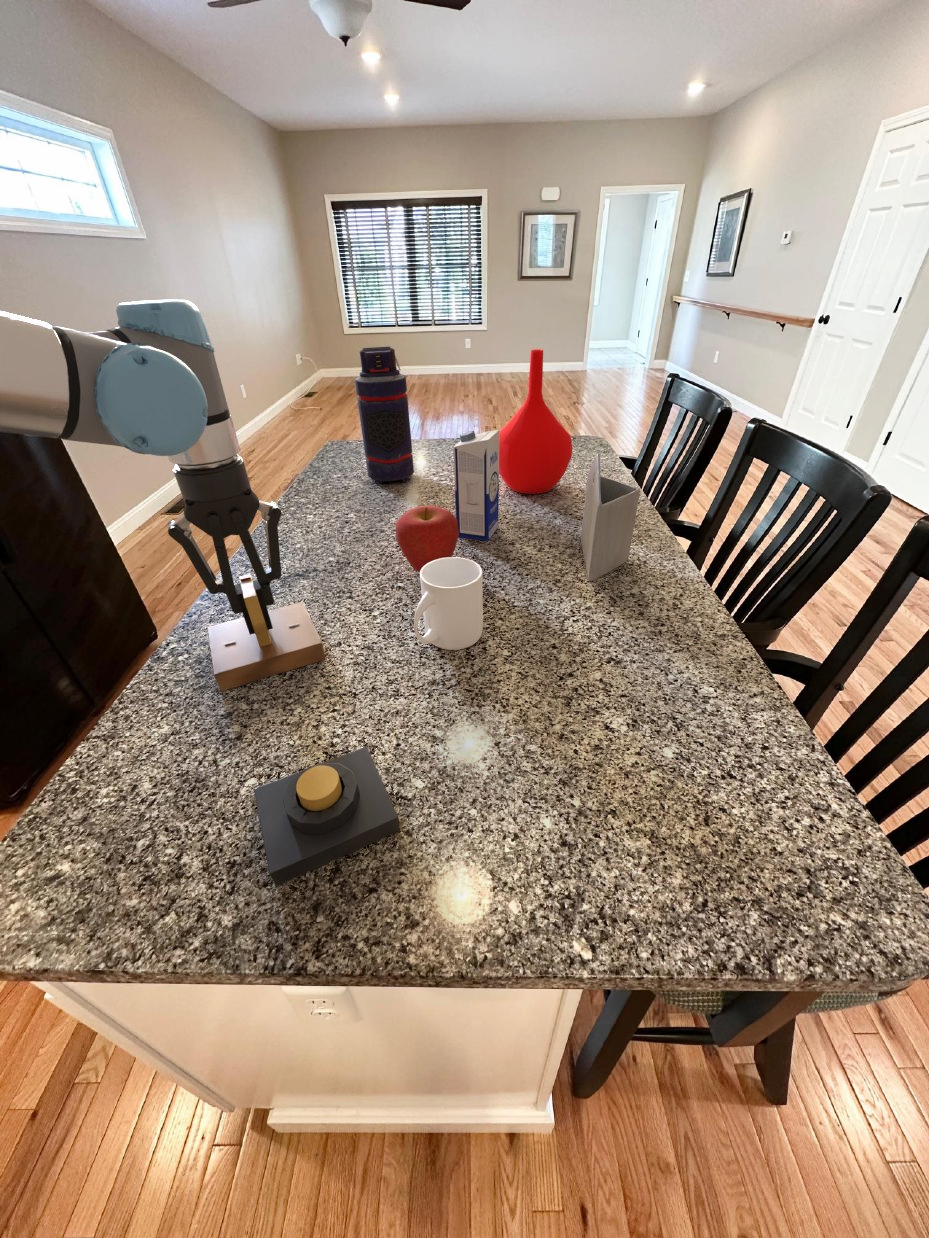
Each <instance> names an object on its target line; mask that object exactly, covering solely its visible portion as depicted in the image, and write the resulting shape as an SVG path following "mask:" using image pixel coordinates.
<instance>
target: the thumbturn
mask: <svg viewBox="0 0 929 1238" xmlns="http://www.w3.org/2000/svg"><path fill="white" fill-rule="evenodd" d="M238 580H239V581H238V582H239V584H240V585H241V589H242V593H243V597H244V601H245V604H246V607H247V610H248V613H249V616H250V619H251V622H252V625H253V628H254V631H255V634H256V638H257V641H258V644H259V647H262V646H266V645H269V644H271V640H270V636H269V633H268V630H267V627H266V623H265V620H264V617H263V614H262V610H261V607H260V604H259V601H258V597H257V594H256V591H255V587H254V584H253V581H254V580H253V577H252V575H251V574H250V573H247V574H244V575H243V574H242V575H239V577H238Z"/></svg>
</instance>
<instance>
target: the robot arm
mask: <svg viewBox="0 0 929 1238" xmlns="http://www.w3.org/2000/svg"><path fill="white" fill-rule="evenodd" d="M115 312H116V316H117V325H118V326H117V327H112V328H111V329H104V330H100V331H89V332H88V331H86V332H83V331H79V330H76V329H71V328H66V327H62V326H56V325H52V324H49V323H48V322H45V321H41V320H37V319H32V318H29V317H25V316H23V315H22V316H21V315H17V314H13V313H9V312H6V311H2V310H0V433H5V434H16V435H24V436H28V437H41V438H51V439H61V440H62V441H63V440H64V441H70V442H71V441H72V442H78V443H79V442H80V443H88V444H95V445H96V444H98V445H106V446H115V447H121V448H125V449H127V450H129V451H131V452H133V453H135V454H139V455H152V456H157V457H167V458H168V460H169V462H171V463H172V464H174V466H173V468H172V472H173V474H174V477H175V480H176V482H177V486H178V488H179V491H180V493H181V497H182V500H183V502H184V504H183V508H182V509H183V514H182V515H181V516H179V517H178V518H177V519H176V520H170V521H169V522H168V523H167V534H168V536H169V537H170V538H171V539H173V540H174V541H175V542H177V544H179V545H180V546H181V547H182V549H183V550H184V552H185V554H186V555H187V557H188V559H189V560H190V562H191V564H192V566H193V567H194V569H195V570H196V572H197V574H198V575H199V578H200V579H201V580H202V582H203V584H204V585H205V587H206V589H207V590H208V592H209V593H210V594H211V595H217V594H224V595H225V596H226V597H227V600H228V602H229V605H230V609H231V611H232V612H233V614H235V615H237V614H241V613H242V616H243V617H244V619H245V622H246V625H247V628H248V631H249V633H250V635H251V634H255V631H254V628H253V625H252V622H251V619H250V616H249V613H248V610H247V607H246V604H245V601H244V597H243V593H242V589H241V585H240V583H238V584H235V582H234V577H233V573H232V569H231V564H230V560H229V554H228V550H227V546H226V542H225V539H227V538H228V537H230V536H238V537H239V539H240V541H241V544H242V545H243V548H244V550H245V553H246V555H247V558H248V559H249V562H250V565H251V567H252V570H253V572H254V574H255V577H256V580H253V584H254V587H255V591H256V594H257V597H258V601H259V604H260V607H261V610H262V614H263V617H264V620H265V623H266V627H267V630H269V629H273V627H272V623H271V620H270V617H269V613H268V611H269V609H268V606H273V605H274V604H275V599H274V596H273V592H272V589H271V582H273V581H275V580H279V579H281V577H282V565H281V563H282V562H281V552H280V551H281V550H280V539H279V527H278V526H279V522H280V520H281V517H282V509H281V507H280V506H279V504H278V502H276V501H271V502H267V501H263V500H260V499H259V497H258V496H257V495H256V493H255V492H254V491H253V490H252V487H251V483H250V480H249V476H248V473H247V469H246V465H245V462H244V459H243V457H242V456H240V455H239V454H240V452H241V447H240V444H239V440H238V436H237V432H236V429H235V425H234V420H233V418H232V415H231V413H230V410H229V409H230V408H229V406H228V405H229V404H228V401H227V398H226V394H225V390H224V386H223V382H222V379H221V375H220V371H219V367H218V365H217V361H216V360H217V359H216V356H215V348H214V346H213V344H212V341H211V337H210V335H209V332H208V330H207V326H206V324H205V322H204V319H203V316H202V313H201V311H200V309H199V308H198V306H197V305H196V304H194V303H193V302H191V301H189V300H187V299H156V300H155V299H153V300H138V301H131V302H129V301H127V302H121V303H118V305H117V306H116V308H115ZM258 511H259V512H260V516H261V518H262V520H264V526H265V538H266V539H265V540H266V550H267V559H268V560H267V561H268V567H267V568H266V569H265V568H264V565H263V563H262V559H261V558H260V554H259V552H258V550H257V548H256V544H255V542H254V539H253V536H252V534H251V532H250V530H249V529H250V528H251V526H252V525H253V522H254V520H255V517H256V515H257V513H258ZM191 524H192V525H193V526H195V528H198V529H199V530H201V531H202V532H203V533H205V534H206V535H208V536H209V537H211V538H212V542H213V546H214V551H215V554H216V558H217V559H216V560H217V562H218V566H219V570H220V575H221V579H218V578H217V577H216V574H215V573H214V571H213V570H212V568H211V566H210V564H209V562H208V561H207V560H206V559H207V558H206V557H205V556H204V554H203V552H202V551H201V549H200V547H199V545H198V543H197V542H196V540H195V538H194V536H193V535H192V534H193V529H192V526H191Z"/></svg>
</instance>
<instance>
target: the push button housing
mask: <svg viewBox="0 0 929 1238" xmlns="http://www.w3.org/2000/svg"><path fill="white" fill-rule="evenodd" d="M316 766H329V767H332V768H333V769H335V770H336V771H337V773H338V775H339V779H340V783H341V787H342V792H341V795H340V798H339V799H338V801H337V802H336V803H335V804H334V805H333V806H331V807H330V808H328V809H325V810H322V811H310V810H307V809H306V808H304V807H303V806H302V804H301V802H300V799H299V797H298V794H297V791H296V785H297V781H298V779H299V778H300V776H301V775H302V774H303V773H304V772H306V771H307V770H309V769H311V768H313V767H316ZM253 793H254V798H255V803H256V809H257V814H258V819H259V825H260V830H261V835H262V841H263V845H264V846H263V847H264V850H265V851H264V852H265V856H266V861H267V867H268V872H269V875H270V878H271V879H272V882H273V884H274V886H275V887H278V886H280V885H283V884H284V883H287V882H289V881H291V880H293V879H296V878H298V877H300V876H303V875H305V874H307V873H310V872H311V871H314V870H316V869H318V868H320V867H323V866H324V865H326V864H329V863H331V862H333V861H336V860H339V859H340V858H342V857H345V856H347V855H349V854H351V853H354V852H356V851H358V850H361V849H363V848H364V847H367V846H369V845H371V844H374V843H376V842H378V841H380V840H382V839H384V838H387V837H389V836H391V835H394V834H395V833H398V832H400V831H401V826H400V825H401V824H400V819H399V816H398V813H397V811H396V808H395V806H394V804H393V802H392V800H391V798H390V796H389V793H388V790H387V788H386V786H385V784H384V781H383V779H382V777H381V775H380V773H379V771H378V768H377V766H376V764H375V761H374V760H373V757H372V755H371V752H370V750H369V748H368V746H364V747H361V748H359V749H356V750H353V751H349V752H347V753H345V754H342V755H340V756H337V757H334V758H332V759H329V760H326V761H324V762H319V763H317V764H314V765H312V766H309V767H305V768H304V769H302V770H300V771H298V772H295V773H292V774H290V775H286V776H284V777H281V778H279V779H276V780H273V781H271V782H268V783H265V784H262V785H260V786H257V787H255V788H253Z"/></svg>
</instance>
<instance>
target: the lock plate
mask: <svg viewBox="0 0 929 1238" xmlns="http://www.w3.org/2000/svg"><path fill="white" fill-rule="evenodd" d="M268 613H269V617H270V620H271V623H272V627H273V629H269V630H268V633H269V636H270V640H271V644H269V645H266V646H262V647H259V644H258V641H257V638H256V634H251V635H250V633H249V631H248V628H247V625H246V622H245V619H244V616H243V617H240V618H235V619H232V620H228V621H224V622H220V623H216V624H213V625H209V626H207V627H206V629H207V630H206V631H207V636H208V644H209V651H210V658H211V665H212V671H213V676H214V679H215V681H216V683H217V686H218V689H219V691H220V692H225V691H227V690H231V689H234V688H238V687H240V686H244V685H247V684H250V683H254V682H257V681H260V680H263V679H266V678H270V677H273V676H276V675H281V674H283V673H286V672H289V671H291V670H292V671H293V670H296V669H299V668H302V667H305V666H309V665H312V664H316V663H319V662H322V661H325V660H326V655H325V651H324V647H323V642H322V640H321V638H320V636H319V633H318V631H317V629H316V627H315V624H314V622H313V620H312V618H311V616H310V614H309V611H308V609H307V606H306V603H305V602H304V601H300V602H296V603H292V604H289V605H285V606H280V607H277V608H274V609H268Z"/></svg>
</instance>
